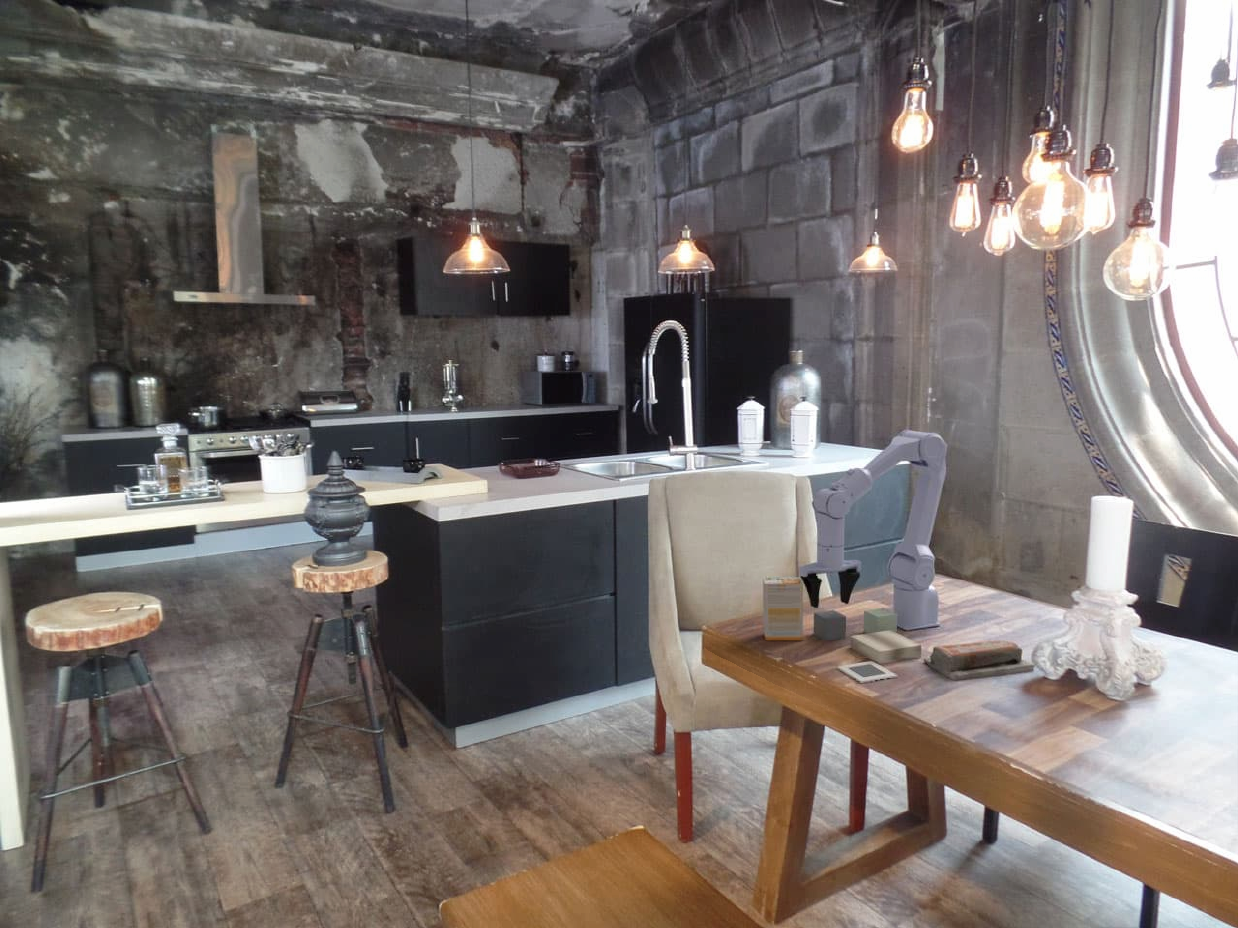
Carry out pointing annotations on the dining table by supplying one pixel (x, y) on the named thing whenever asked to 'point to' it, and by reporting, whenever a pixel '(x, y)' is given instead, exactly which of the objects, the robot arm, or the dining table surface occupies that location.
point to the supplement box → (783, 608)
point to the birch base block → (885, 646)
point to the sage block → (879, 620)
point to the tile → (866, 671)
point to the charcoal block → (829, 625)
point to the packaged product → (978, 659)
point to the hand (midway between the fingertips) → (829, 604)
